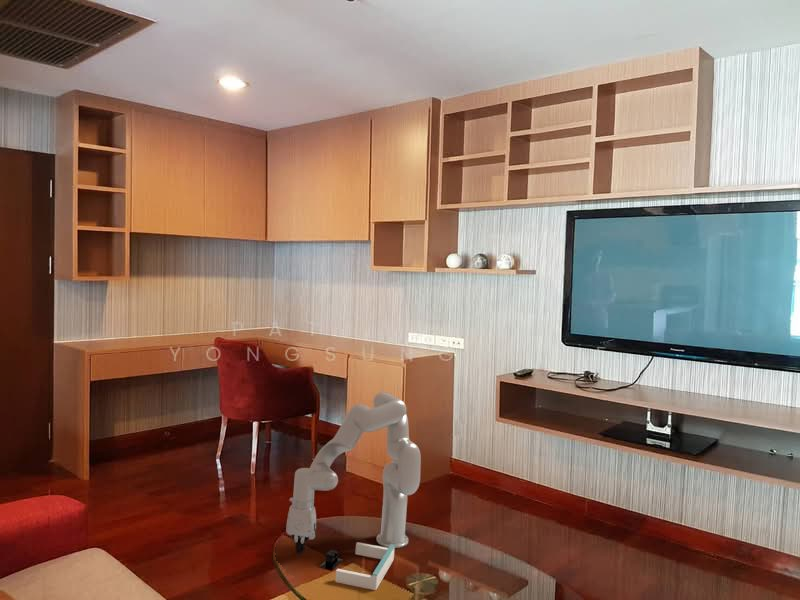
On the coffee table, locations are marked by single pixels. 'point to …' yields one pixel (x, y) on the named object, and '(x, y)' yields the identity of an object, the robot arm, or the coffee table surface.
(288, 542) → the coffee table surface
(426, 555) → the coffee table surface
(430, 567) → the coffee table surface
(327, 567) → the black irregular block
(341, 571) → the frame
